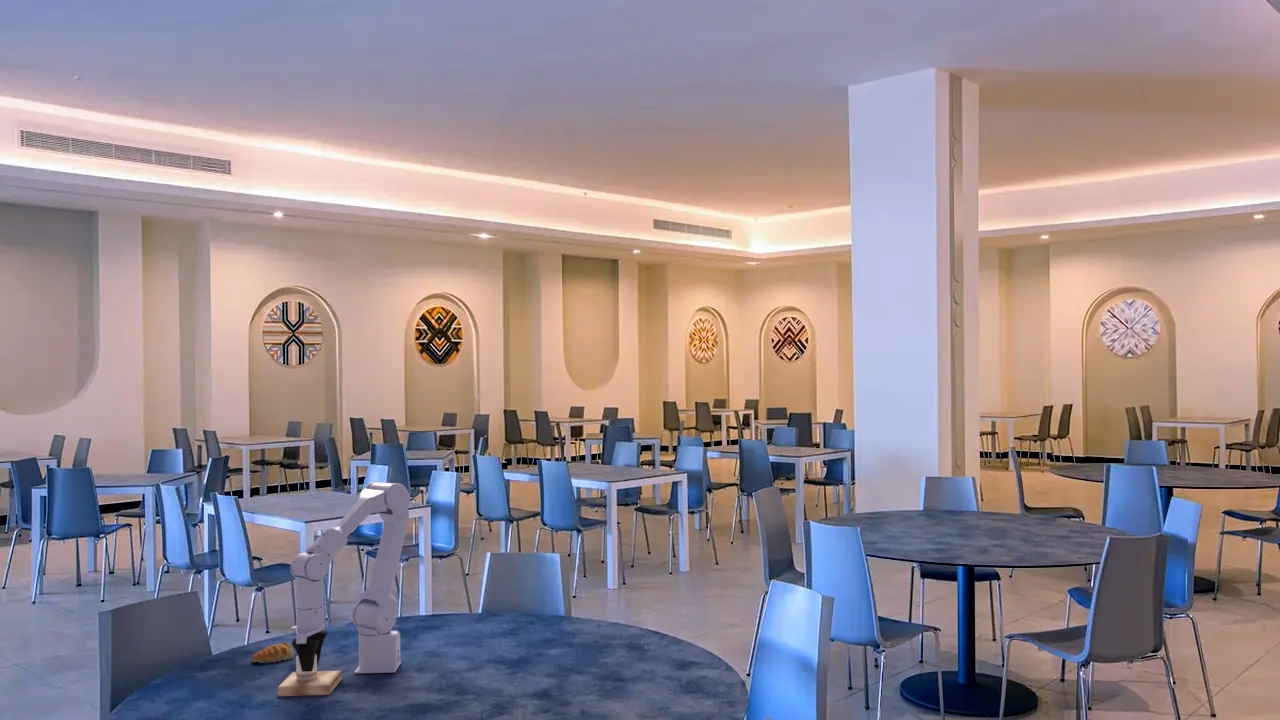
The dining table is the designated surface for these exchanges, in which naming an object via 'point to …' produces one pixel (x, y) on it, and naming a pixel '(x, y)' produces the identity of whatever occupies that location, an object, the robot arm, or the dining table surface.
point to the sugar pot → (306, 675)
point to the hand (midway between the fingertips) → (310, 667)
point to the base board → (310, 684)
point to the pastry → (274, 653)
